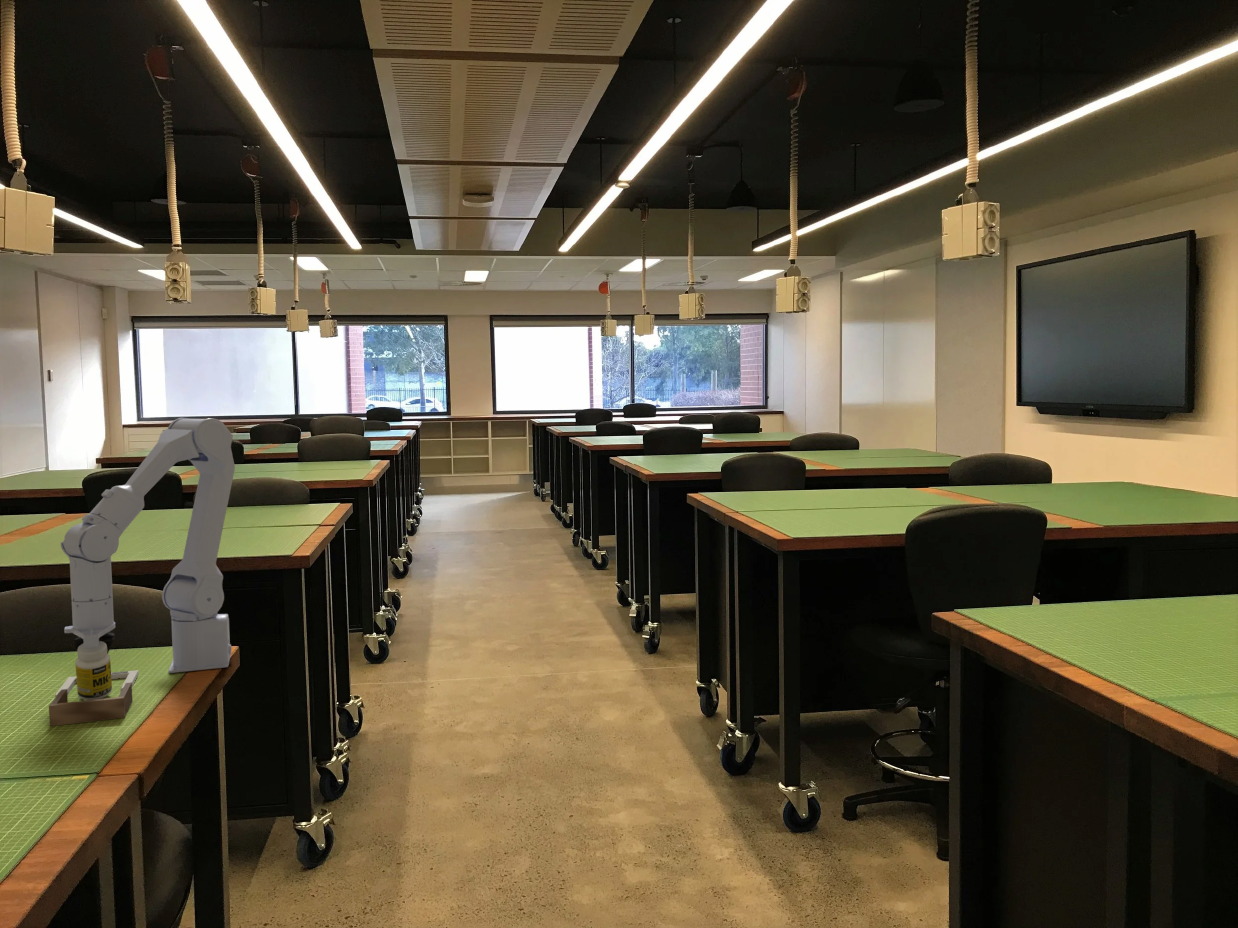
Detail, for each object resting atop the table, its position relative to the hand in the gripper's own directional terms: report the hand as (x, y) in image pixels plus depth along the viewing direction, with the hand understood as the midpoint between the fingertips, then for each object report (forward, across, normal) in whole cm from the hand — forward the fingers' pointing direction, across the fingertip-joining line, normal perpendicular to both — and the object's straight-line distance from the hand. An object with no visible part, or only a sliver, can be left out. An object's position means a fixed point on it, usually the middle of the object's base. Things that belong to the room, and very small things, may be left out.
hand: (96, 680), depth 144 cm
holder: (+2, +10, 0) cm, 10 cm away
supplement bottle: (+1, +2, 0) cm, 3 cm away
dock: (+2, -2, 0) cm, 3 cm away
